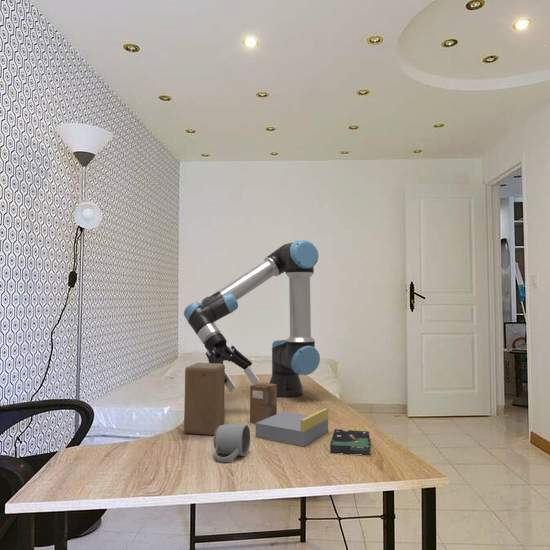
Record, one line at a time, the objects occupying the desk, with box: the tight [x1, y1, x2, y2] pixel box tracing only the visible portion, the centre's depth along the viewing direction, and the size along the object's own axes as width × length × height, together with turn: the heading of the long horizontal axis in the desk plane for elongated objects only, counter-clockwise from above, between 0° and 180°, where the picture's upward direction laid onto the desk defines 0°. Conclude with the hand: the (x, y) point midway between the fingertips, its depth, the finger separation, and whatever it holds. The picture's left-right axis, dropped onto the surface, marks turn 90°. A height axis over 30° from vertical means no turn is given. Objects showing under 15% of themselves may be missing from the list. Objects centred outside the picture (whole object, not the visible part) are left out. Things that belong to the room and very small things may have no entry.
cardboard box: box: [249, 382, 278, 425], centre depth 145 cm, size 7×6×12 cm
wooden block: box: [183, 362, 226, 436], centre depth 135 cm, size 10×10×20 cm
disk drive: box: [329, 428, 371, 456], centre depth 121 cm, size 10×3×15 cm
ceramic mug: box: [213, 423, 251, 463], centre depth 113 cm, size 11×8×8 cm
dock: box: [255, 407, 329, 447], centre depth 131 cm, size 16×16×7 cm
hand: (245, 386), depth 148 cm, fingers open, 13 cm apart
